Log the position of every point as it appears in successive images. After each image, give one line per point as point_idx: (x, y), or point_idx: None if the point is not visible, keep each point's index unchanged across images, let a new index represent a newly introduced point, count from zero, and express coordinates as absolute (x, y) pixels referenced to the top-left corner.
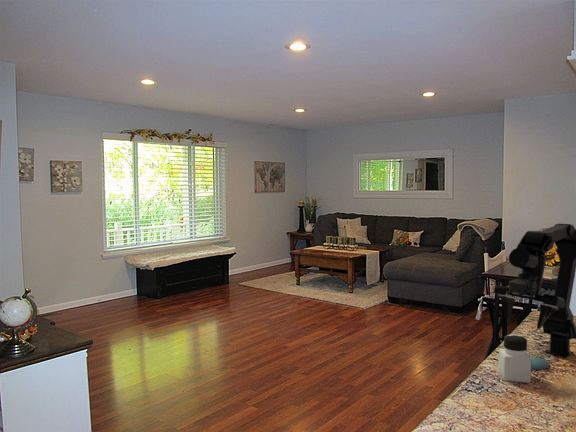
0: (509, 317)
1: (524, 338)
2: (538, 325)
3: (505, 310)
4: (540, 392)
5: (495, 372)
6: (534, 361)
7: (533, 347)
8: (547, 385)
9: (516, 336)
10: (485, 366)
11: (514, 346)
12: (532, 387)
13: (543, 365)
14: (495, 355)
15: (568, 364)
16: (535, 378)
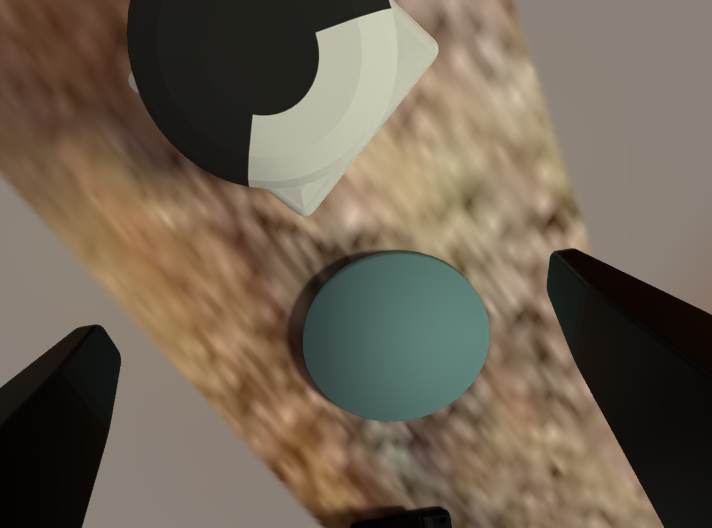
0: (571, 325)
1: (179, 119)
2: (54, 354)
3: (709, 331)
4: (54, 2)
5: None
6: (379, 355)
7: (524, 521)
8: (125, 143)
9: (255, 68)
10: (512, 59)
11: None
12: None
13: (315, 347)
14: None
15: (291, 476)
16: None
